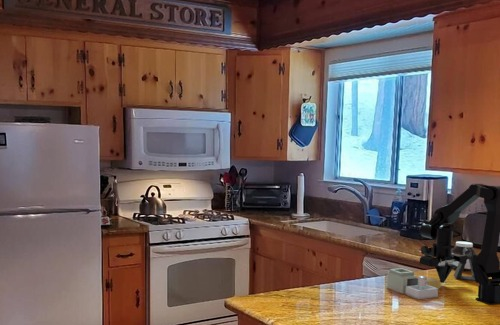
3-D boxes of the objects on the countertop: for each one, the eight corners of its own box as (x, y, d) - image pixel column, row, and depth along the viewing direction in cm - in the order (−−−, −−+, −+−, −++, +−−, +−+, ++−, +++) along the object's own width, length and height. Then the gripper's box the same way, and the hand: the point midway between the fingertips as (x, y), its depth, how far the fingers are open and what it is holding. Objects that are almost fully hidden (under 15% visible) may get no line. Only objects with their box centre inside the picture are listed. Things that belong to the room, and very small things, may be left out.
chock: (439, 288, 187) (440, 280, 186) (425, 289, 185) (426, 281, 185) (431, 285, 191) (431, 277, 191) (417, 286, 190) (418, 278, 190)
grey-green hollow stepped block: (420, 291, 181) (421, 272, 181) (402, 293, 177) (403, 273, 177) (404, 285, 188) (405, 267, 188) (386, 287, 184) (387, 268, 184)
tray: (437, 297, 174) (438, 288, 174) (418, 299, 171) (418, 290, 170) (424, 292, 180) (425, 284, 180) (405, 294, 176) (405, 286, 176)
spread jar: (461, 272, 214) (462, 244, 214) (441, 266, 224) (442, 240, 224) (482, 270, 219) (483, 243, 219) (461, 264, 229) (462, 239, 229)
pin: (428, 295, 174) (429, 277, 174) (420, 295, 173) (422, 278, 173) (422, 292, 177) (423, 275, 177) (415, 293, 176) (416, 276, 176)
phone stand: (455, 279, 201) (457, 249, 201) (453, 275, 207) (455, 246, 207) (480, 281, 199) (481, 251, 199) (477, 277, 205) (478, 248, 204)
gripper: (445, 236, 202) (443, 275, 202) (409, 239, 194) (408, 279, 194) (468, 241, 192) (466, 282, 192) (431, 244, 184) (429, 286, 184)
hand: (442, 282), depth 191 cm, fingers closed
